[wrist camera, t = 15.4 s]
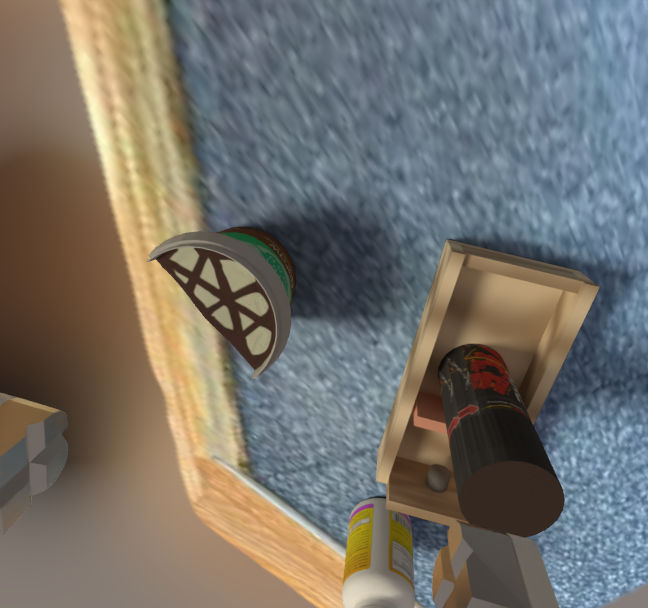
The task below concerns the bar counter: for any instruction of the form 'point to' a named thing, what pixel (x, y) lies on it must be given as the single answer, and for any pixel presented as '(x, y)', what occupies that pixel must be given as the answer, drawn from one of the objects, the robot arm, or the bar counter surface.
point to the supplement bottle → (378, 558)
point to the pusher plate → (429, 412)
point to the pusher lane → (487, 329)
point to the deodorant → (495, 446)
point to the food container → (236, 287)
